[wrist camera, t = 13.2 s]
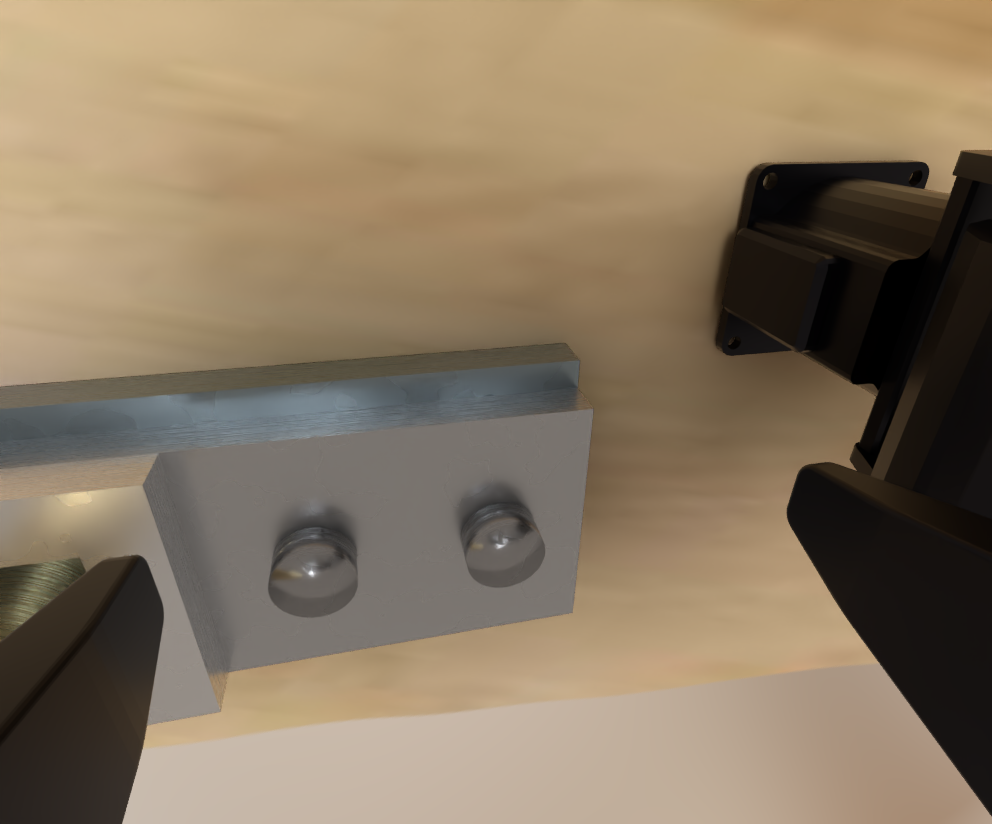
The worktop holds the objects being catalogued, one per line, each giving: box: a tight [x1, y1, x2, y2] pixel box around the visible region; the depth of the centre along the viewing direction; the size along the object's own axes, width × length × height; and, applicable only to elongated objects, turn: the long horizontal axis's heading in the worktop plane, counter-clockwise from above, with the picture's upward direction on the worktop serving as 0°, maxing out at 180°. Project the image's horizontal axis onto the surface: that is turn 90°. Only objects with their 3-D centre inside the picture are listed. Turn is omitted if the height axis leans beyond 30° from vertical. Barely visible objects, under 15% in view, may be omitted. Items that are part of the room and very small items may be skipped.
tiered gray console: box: [0, 343, 594, 725], centre depth 19 cm, size 22×11×4 cm, turn 89°
